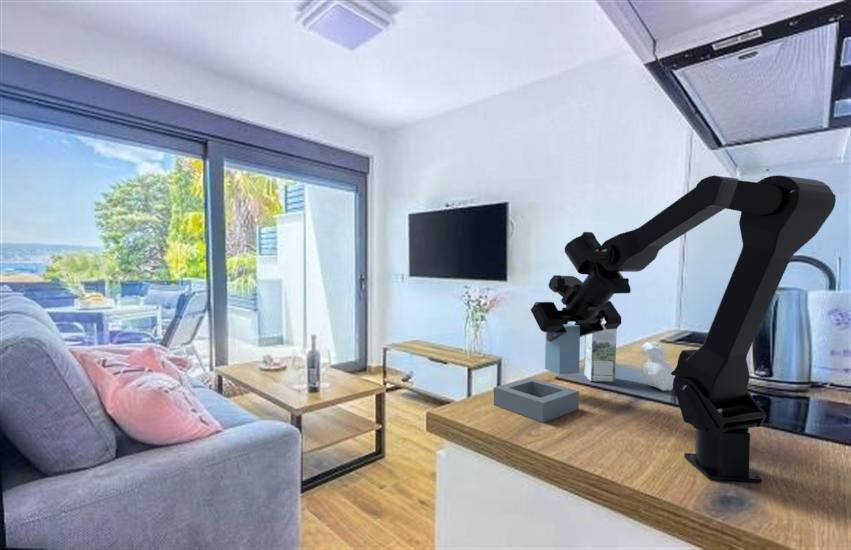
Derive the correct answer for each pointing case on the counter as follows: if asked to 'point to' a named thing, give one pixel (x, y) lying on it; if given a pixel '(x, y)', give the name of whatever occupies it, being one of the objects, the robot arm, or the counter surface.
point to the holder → (536, 399)
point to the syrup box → (600, 355)
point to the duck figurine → (657, 367)
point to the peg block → (564, 351)
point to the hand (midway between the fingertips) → (558, 339)
